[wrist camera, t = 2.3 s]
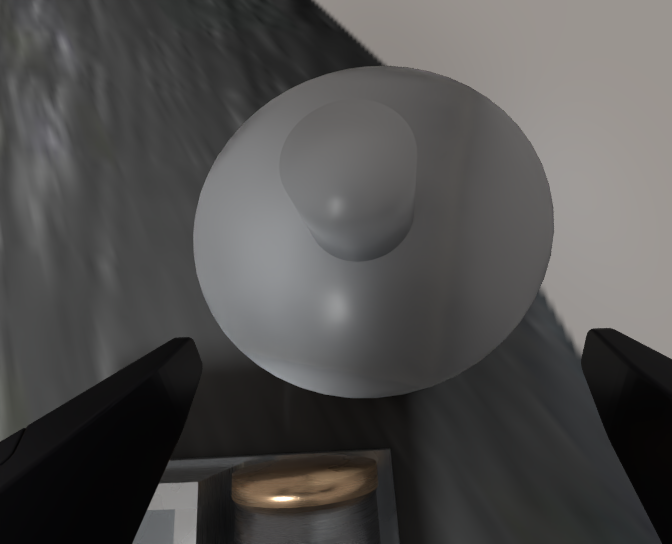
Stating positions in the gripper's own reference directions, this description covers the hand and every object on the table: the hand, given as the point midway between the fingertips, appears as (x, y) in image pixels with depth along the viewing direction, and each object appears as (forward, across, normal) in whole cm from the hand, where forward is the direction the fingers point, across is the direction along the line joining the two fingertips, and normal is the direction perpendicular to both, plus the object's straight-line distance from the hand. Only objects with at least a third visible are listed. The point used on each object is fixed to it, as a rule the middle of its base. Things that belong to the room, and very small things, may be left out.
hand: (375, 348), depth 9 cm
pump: (+8, 0, +5) cm, 9 cm away
